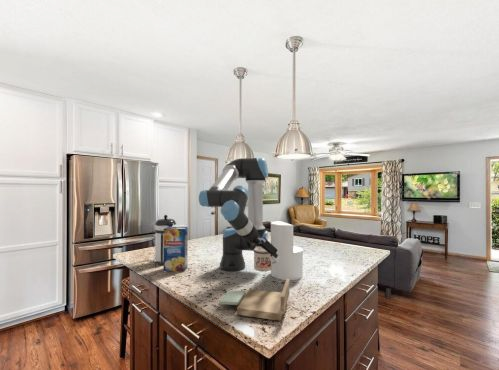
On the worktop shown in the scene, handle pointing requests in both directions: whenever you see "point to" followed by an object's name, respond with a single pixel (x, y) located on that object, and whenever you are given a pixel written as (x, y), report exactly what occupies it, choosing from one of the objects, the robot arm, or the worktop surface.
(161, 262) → the coffee press
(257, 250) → the teacup with lid
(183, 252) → the juice carton
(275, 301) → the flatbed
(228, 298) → the panel
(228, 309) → the worktop surface
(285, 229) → the cylinder
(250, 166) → the robot arm
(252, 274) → the worktop surface
